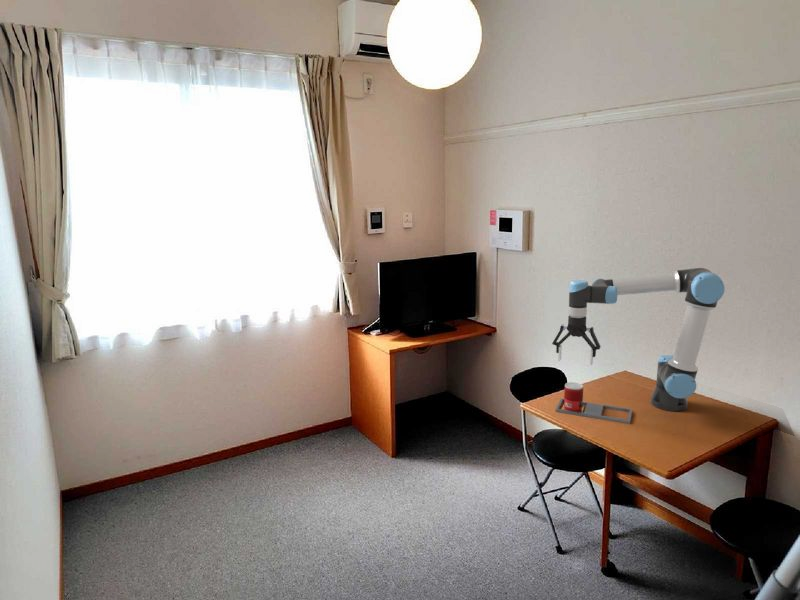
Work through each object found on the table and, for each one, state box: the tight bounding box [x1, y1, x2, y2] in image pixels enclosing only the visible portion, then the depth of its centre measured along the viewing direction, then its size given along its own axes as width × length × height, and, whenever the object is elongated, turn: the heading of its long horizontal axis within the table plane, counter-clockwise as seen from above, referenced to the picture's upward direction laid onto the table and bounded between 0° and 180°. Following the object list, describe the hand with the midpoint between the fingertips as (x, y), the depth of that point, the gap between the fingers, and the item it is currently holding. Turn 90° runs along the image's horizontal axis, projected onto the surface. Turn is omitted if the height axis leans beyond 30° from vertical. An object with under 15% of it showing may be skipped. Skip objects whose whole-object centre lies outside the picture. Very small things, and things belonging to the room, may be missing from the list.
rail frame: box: [555, 398, 633, 425], centre depth 245 cm, size 31×13×1 cm, turn 64°
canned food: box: [563, 382, 584, 411], centre depth 248 cm, size 8×8×11 cm
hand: (575, 361), depth 244 cm, fingers open, 13 cm apart
